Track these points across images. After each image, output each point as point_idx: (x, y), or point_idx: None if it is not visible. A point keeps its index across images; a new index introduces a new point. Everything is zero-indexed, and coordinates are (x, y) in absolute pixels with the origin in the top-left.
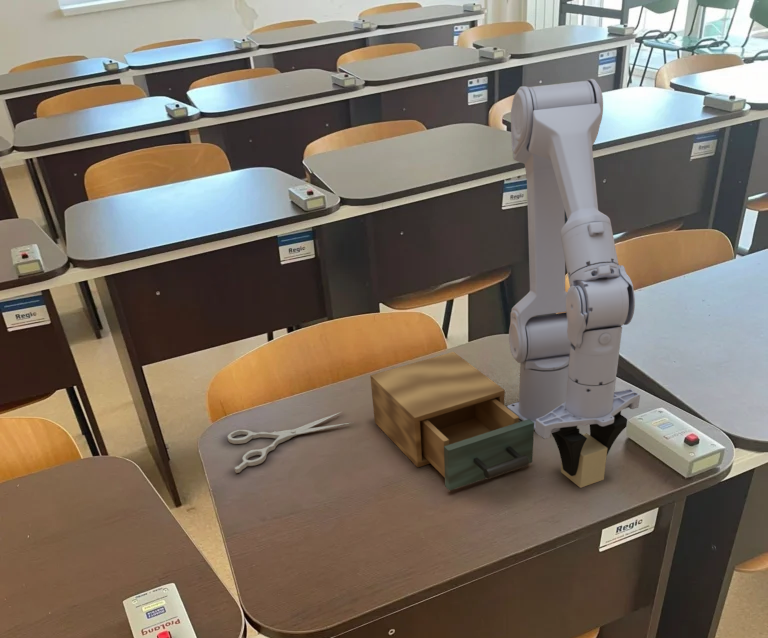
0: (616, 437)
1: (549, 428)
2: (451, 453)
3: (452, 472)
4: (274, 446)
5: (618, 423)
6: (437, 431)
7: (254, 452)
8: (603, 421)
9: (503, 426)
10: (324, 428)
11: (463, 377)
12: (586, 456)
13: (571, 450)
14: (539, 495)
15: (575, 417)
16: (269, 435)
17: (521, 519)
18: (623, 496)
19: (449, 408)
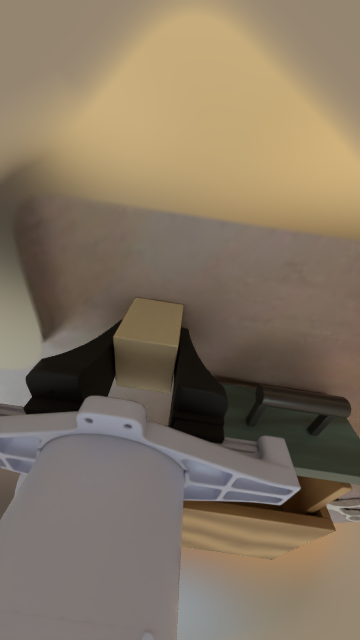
0: (80, 347)
1: (281, 469)
2: None
3: (348, 428)
4: (355, 503)
5: (60, 378)
6: (328, 499)
7: None
8: (132, 423)
9: None
10: None
11: (196, 530)
12: (170, 343)
13: (209, 372)
14: (246, 329)
15: (187, 466)
16: (340, 509)
17: (322, 305)
18: (139, 241)
19: (275, 518)
